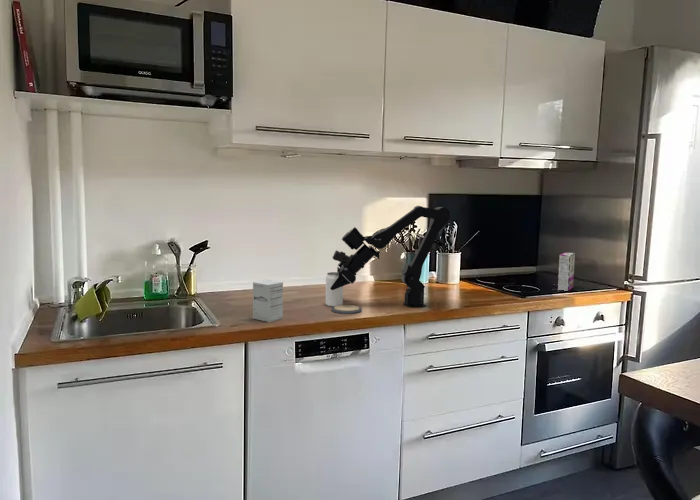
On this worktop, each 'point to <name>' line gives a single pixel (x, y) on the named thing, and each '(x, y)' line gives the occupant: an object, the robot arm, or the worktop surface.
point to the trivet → (346, 309)
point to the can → (333, 291)
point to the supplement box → (267, 300)
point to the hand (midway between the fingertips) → (330, 287)
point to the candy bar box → (566, 271)
